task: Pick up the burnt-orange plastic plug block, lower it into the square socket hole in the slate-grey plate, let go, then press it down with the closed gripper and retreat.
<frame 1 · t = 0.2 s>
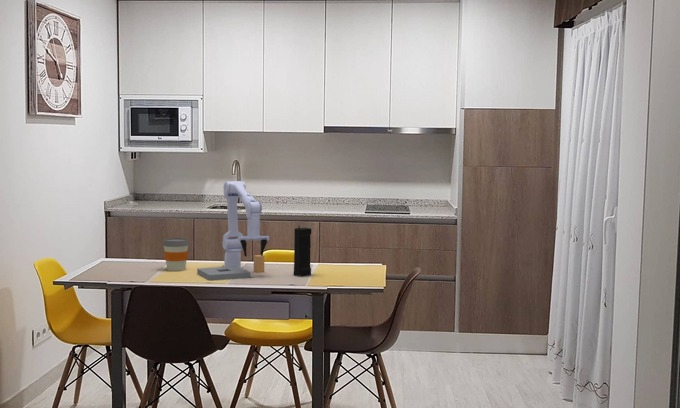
hand: (253, 255, 378), 10 cm above the table, fingers open, 7 cm apart
reusable coffee cup: (176, 269, 396), on the table
plug: (259, 271, 391), on the table
socket plate: (223, 275, 380), on the table
portable radio: (302, 275, 383), on the table
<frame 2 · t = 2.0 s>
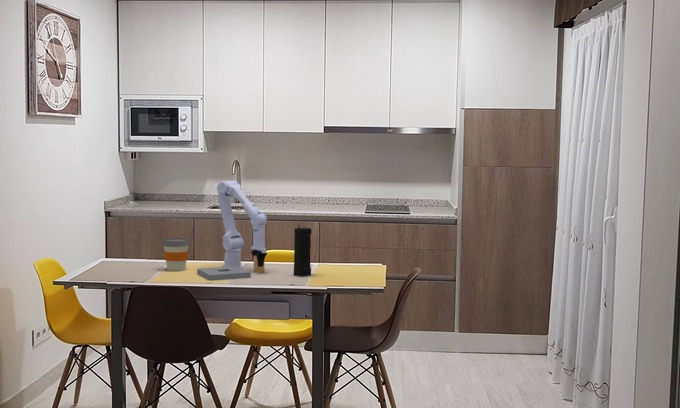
hand: (259, 265, 391), 3 cm above the table, fingers closed on plug, 4 cm apart
plug: (259, 271, 391), on the table, touching gripper
everything else where it was.
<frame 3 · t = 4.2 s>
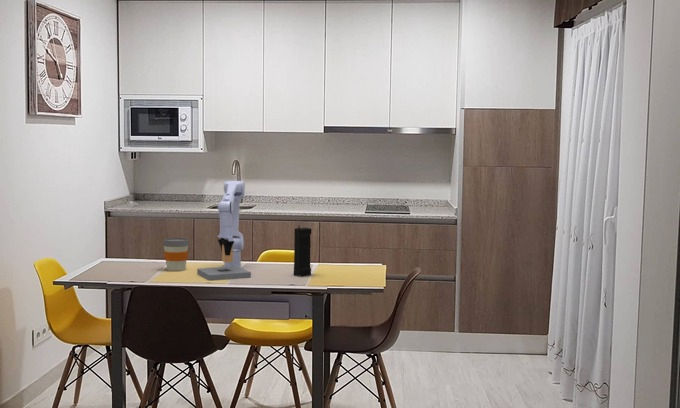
hand: (226, 254, 380), 10 cm above the table, fingers closed on plug, 4 cm apart
plug: (227, 261, 381), point 7 cm above the table, touching gripper
everything else where it was.
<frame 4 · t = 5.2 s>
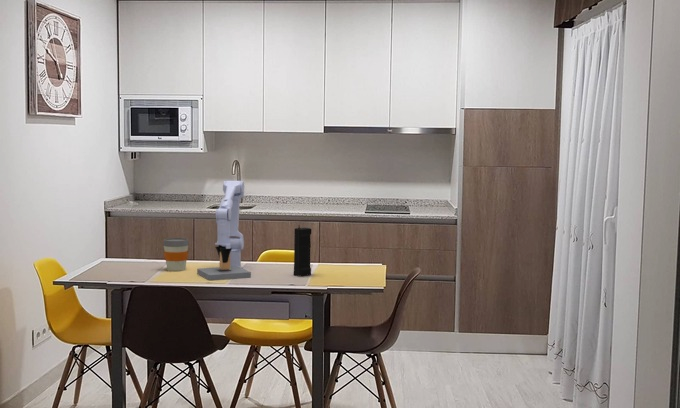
hand: (223, 261, 380), 7 cm above the table, fingers closed on plug, 4 cm apart
plug: (224, 268, 380), point 3 cm above the table, touching gripper
everything else where it was.
when the fingers open (4 cm above the table, at t = 6.2 s): plug stays where it is, resting in socket plate.
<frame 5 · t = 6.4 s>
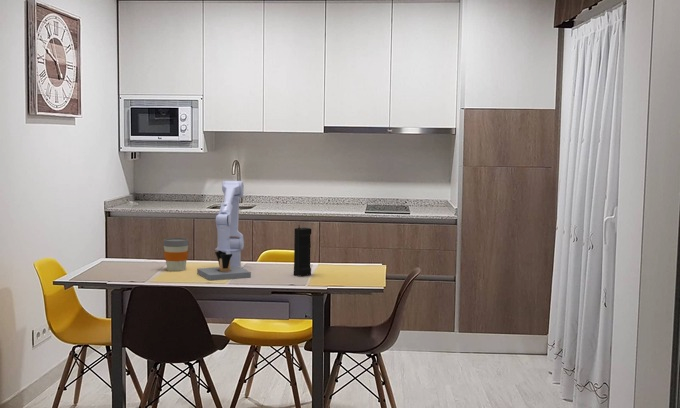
hand: (223, 267, 380), 4 cm above the table, fingers open, 5 cm apart
plug: (224, 275, 380), resting in socket plate
everything else where it was.
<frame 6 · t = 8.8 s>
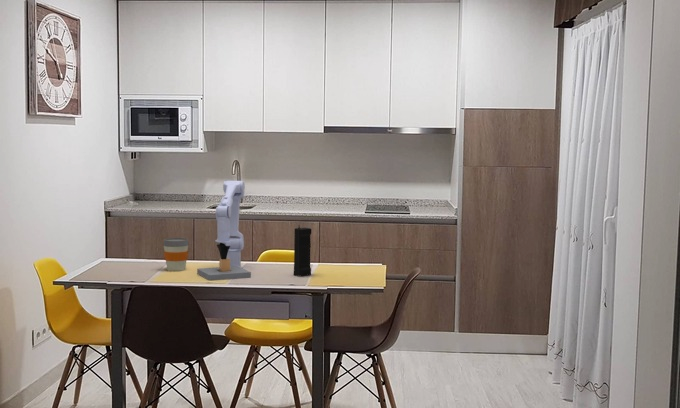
hand: (223, 259, 380), 8 cm above the table, fingers closed, pressing on plug
plug: (224, 275, 380), resting in socket plate, touching gripper
everything else where it was.
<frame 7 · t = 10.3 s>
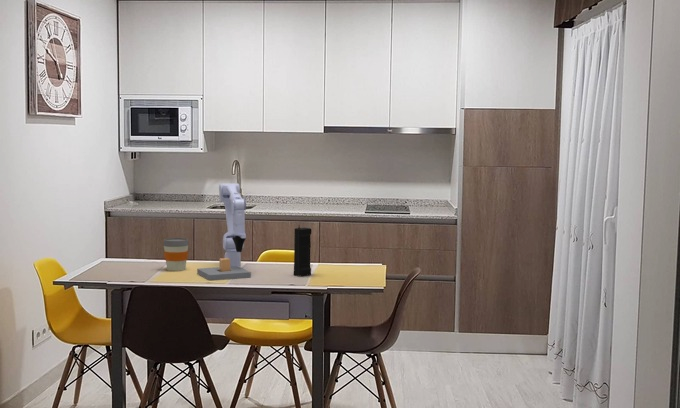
hand: (239, 251, 386), 10 cm above the table, fingers closed
plug: (224, 275, 380), resting in socket plate
everything else where it was.
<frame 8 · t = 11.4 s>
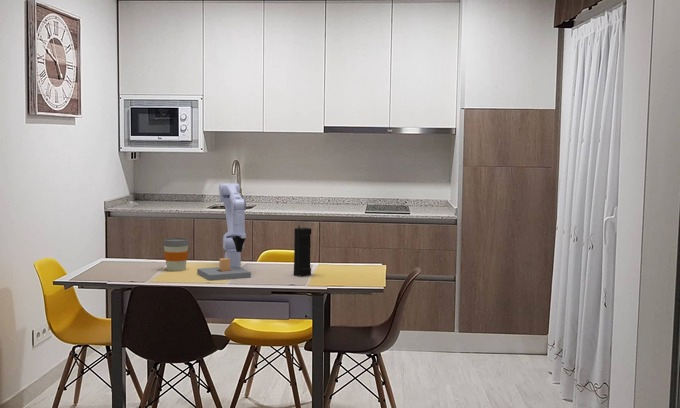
hand: (239, 251, 386), 10 cm above the table, fingers closed
nothing on the table moved.
at the end: plug 0.6 cm off-centre on the socket plate, point 0.0 cm above the socket plate's base; plug tilted 0°; the gripper is holding nothing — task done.
